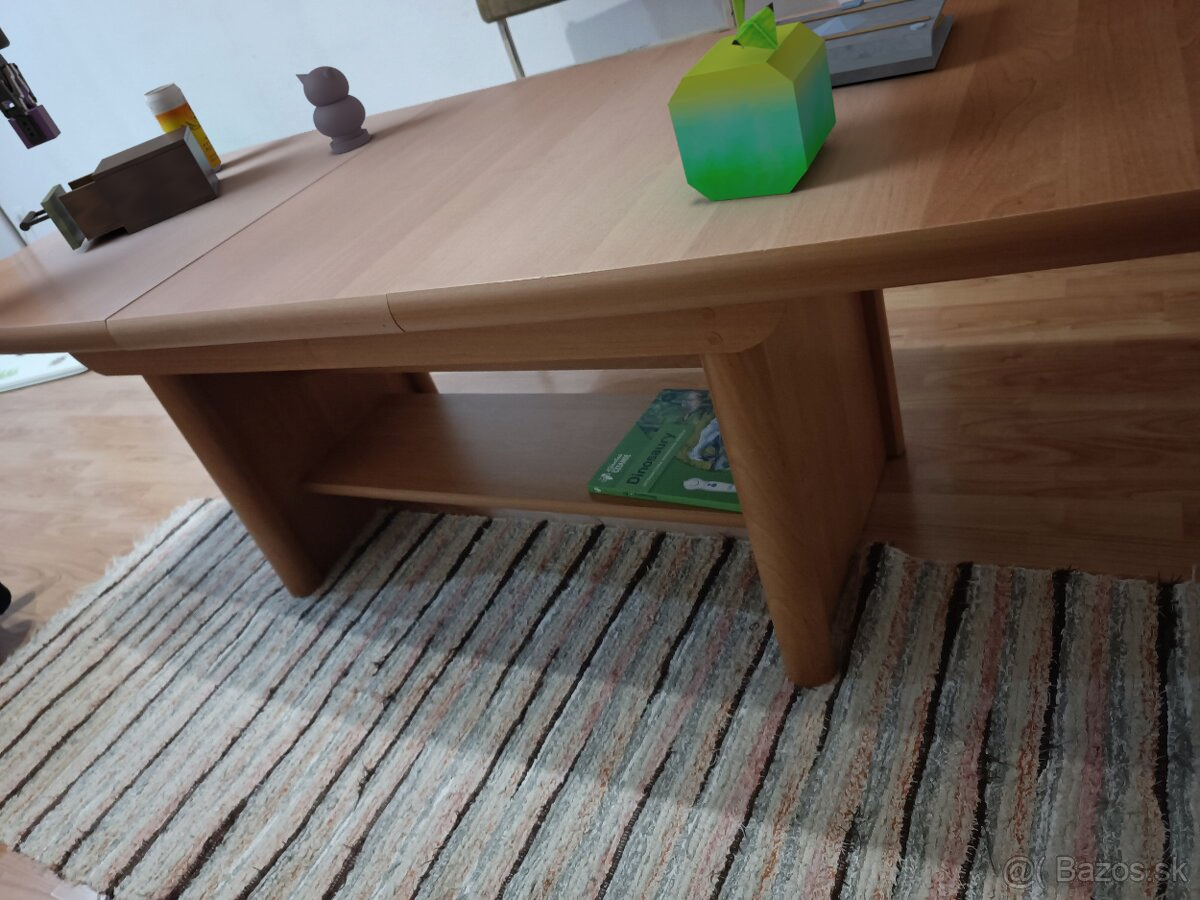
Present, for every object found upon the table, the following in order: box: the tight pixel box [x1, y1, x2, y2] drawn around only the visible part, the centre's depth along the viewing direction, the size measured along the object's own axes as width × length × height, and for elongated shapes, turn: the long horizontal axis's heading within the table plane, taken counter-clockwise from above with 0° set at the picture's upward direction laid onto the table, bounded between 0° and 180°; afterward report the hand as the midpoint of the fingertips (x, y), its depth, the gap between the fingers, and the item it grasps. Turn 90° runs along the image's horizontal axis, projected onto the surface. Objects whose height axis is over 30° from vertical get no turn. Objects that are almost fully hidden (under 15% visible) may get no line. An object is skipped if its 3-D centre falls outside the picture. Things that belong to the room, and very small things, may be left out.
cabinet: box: [91, 125, 220, 235], centre depth 139 cm, size 15×13×10 cm
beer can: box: [143, 82, 222, 173], centre depth 151 cm, size 6×6×15 cm
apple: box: [667, 0, 837, 202], centre depth 74 cm, size 11×10×15 cm
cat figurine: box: [295, 65, 372, 155], centre depth 134 cm, size 8×8×12 cm
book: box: [775, 0, 955, 87], centre depth 94 cm, size 21×16×5 cm
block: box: [7, 104, 62, 150], centre depth 129 cm, size 4×4×4 cm
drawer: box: [18, 171, 124, 251], centre depth 137 cm, size 19×11×8 cm, turn 111°
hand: (42, 139), depth 130 cm, fingers closed on block, 4 cm apart
